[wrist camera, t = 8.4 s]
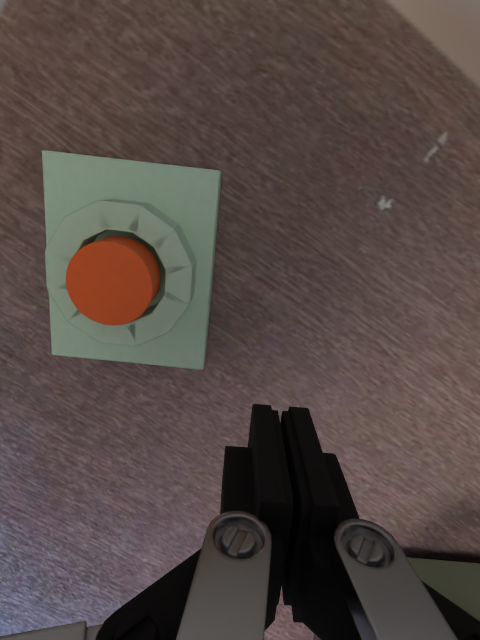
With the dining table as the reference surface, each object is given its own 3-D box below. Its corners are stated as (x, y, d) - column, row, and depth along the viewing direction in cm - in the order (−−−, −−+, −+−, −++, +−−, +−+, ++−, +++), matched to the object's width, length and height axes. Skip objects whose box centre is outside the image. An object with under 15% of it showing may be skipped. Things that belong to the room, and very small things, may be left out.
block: (58, 152, 19) (19, 145, 16) (222, 171, 19) (217, 168, 16) (64, 342, 22) (34, 370, 19) (205, 357, 23) (199, 386, 19)
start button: (80, 231, 17) (63, 236, 16) (162, 240, 18) (154, 246, 16) (82, 309, 19) (66, 321, 17) (158, 317, 19) (151, 330, 17)
